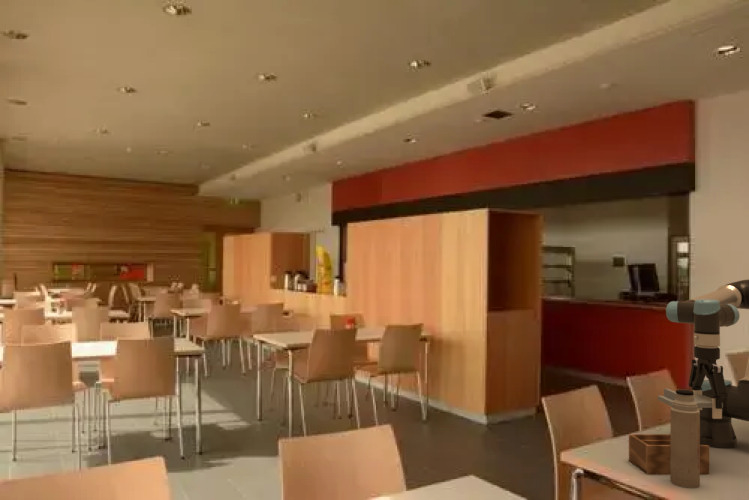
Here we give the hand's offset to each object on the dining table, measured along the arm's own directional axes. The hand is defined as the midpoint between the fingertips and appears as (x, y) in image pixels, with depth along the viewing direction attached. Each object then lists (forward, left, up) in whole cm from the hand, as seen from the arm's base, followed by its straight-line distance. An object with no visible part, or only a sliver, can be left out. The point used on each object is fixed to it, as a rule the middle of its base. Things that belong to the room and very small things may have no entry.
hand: (707, 414), depth 200 cm
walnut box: (+13, 0, -17) cm, 22 cm away
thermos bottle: (+15, +14, -18) cm, 27 cm away
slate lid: (+6, 0, +3) cm, 7 cm away
